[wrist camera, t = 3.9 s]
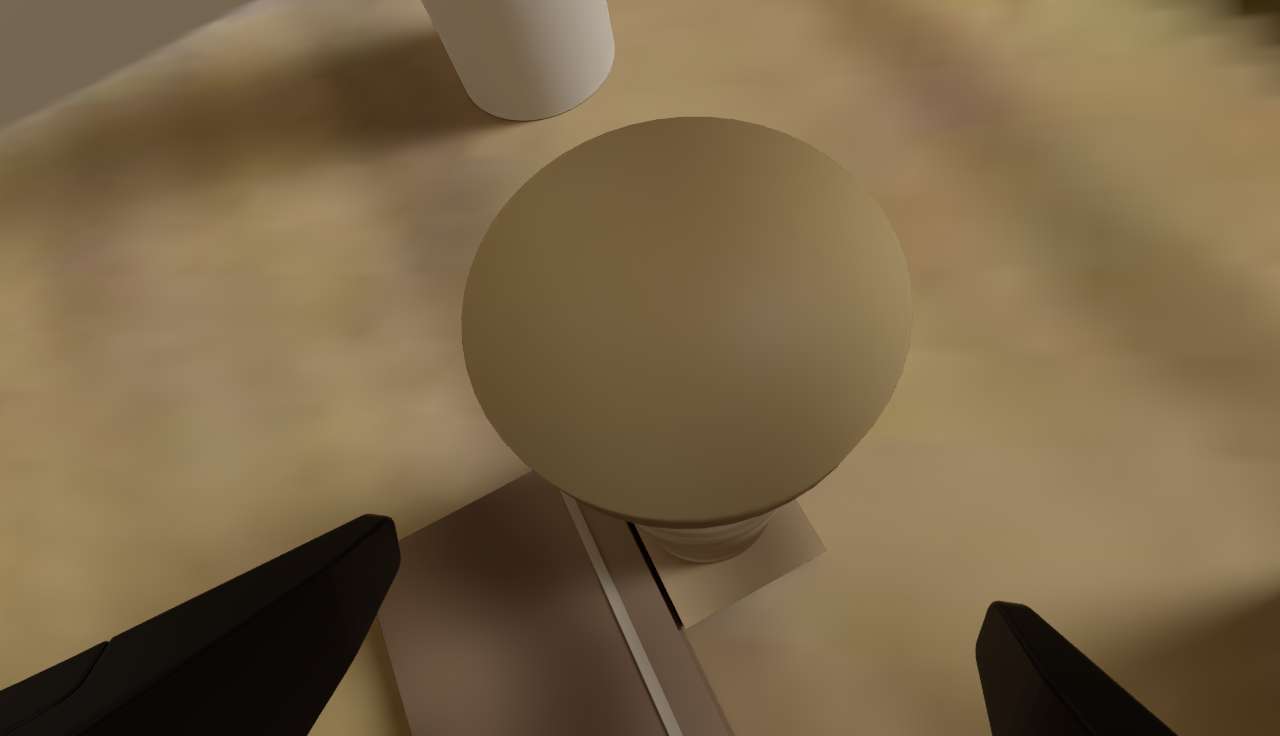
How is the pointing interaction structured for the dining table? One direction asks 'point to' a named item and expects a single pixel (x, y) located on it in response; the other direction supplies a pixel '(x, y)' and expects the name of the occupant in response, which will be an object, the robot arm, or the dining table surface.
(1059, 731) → the robot arm
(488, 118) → the dining table surface
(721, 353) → the beige round-topped column
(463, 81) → the cylindrical container
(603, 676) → the walnut plank
